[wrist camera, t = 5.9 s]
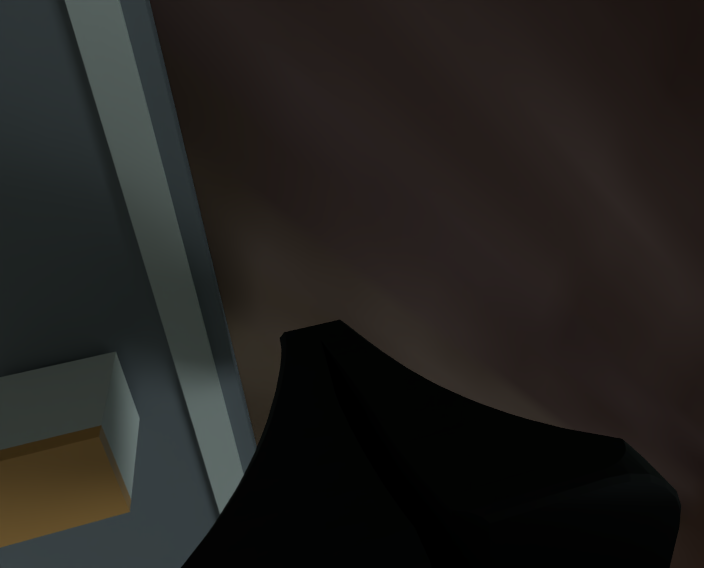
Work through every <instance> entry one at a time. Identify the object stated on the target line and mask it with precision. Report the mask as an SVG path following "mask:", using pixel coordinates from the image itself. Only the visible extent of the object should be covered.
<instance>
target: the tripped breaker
mask: <svg viewBox="0 0 704 568" xmlns="http://www.w3.org/2000/svg"><path fill="white" fill-rule="evenodd" d="M139 420H140V418H139V415H138V412H137V410H136V407H135V404H134V401H133V398H132V396H131V393H130V390H129V387H128V384H127V381H126V379H125V376H124V373H123V370H122V367H121V365H120V362H119V359H118V356H117V353H116V352H111V353H107V354H102V355H98V356H93V357H89V358H84V359H80V360H75V361H71V362H66V363H62V364H57V365H53V366H48V367H44V368H40V369H35V370H31V371H26V372H22V373H17V374H13V375H8V376H4V377H0V548H1V547H4V546H8V545H12V544H15V543H19V542H22V541H26V540H30V539H33V538H37V537H41V536H44V535H48V534H52V533H55V532H59V531H62V530H66V529H70V528H73V527H77V526H81V525H84V524H88V523H92V522H95V521H99V520H102V519H106V518H110V517H113V516H117V515H121V514H124V513H128V512H130V505H131V496H132V486H133V477H134V467H135V458H136V448H137V439H138V429H139Z"/></svg>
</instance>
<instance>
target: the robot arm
mask: <svg viewBox="0 0 704 568" xmlns="http://www.w3.org/2000/svg"><path fill="white" fill-rule="evenodd" d="M280 342H281V349H282V352H281V365H280V372H279V377H278V382H277V388H276V392H275V396H274V399H273V403H272V406H271V410H270V413H269V417H268V420H267V423H266V425H265V428H264V431H263V434H262V436H261V439H260V441H259V443H258V446H257V448H256V451H255V453H254V455H253V457H252V459H251V461H250V463H249V465H248V467H247V469H246V471H245V473H244V475H243V477H242V479H241V481H240V483H239V485H238V486H237V488H236V490H235V492H234V493H233V495H232V496H231V498H230V499H229V501H228V503H227V504H226V506H225V507H224V509H223V511H222V512H221V514H220V515H219V517H218V518H217V520H216V522H215V523H214V525H213V526H212V527H211V529H210V530H209V532H208V533H207V535H206V536H205V537H204V538H203V540H202V541H201V542H200V544H199V545H198V546H197V547H196V549H195V550H194V551H193V553H192V554H191V555H190V556H189V558H188V559H187V560H186V562H185V563H184V564H183V565H182V567H181V568H669V567H670V563H671V559H672V555H673V551H674V547H675V542H676V538H677V534H678V530H679V524H680V511H681V504H680V501H679V497H678V494H677V491H676V490H675V489H674V488H673V487H672V486H671V485H670V484H669V483H668V482H667V481H666V480H665V479H664V478H663V477H662V476H661V475H660V474H659V473H658V472H657V471H656V470H655V469H654V468H653V467H652V466H651V465H650V464H649V463H648V462H647V461H646V460H645V459H644V458H643V457H642V456H641V455H640V454H639V453H638V452H637V451H635V450H634V449H633V448H632V447H631V446H630V445H629V444H627V443H626V442H625V441H624V440H623V439H620V438H614V437H609V436H603V435H598V434H592V433H587V432H581V431H575V430H570V429H565V428H560V427H556V426H552V425H548V424H544V423H541V422H537V421H533V420H529V419H525V418H522V417H519V416H515V415H512V414H509V413H506V412H503V411H500V410H497V409H494V408H492V407H489V406H486V405H483V404H480V403H478V402H475V401H473V400H470V399H468V398H465V397H463V396H461V395H458V394H456V393H454V392H452V391H450V390H448V389H445V388H443V387H441V386H439V385H437V384H435V383H433V382H431V381H429V380H427V379H425V378H424V377H422V376H420V375H418V374H417V373H415V372H413V371H411V370H410V369H408V368H406V367H405V366H403V365H402V364H400V363H399V362H397V361H396V360H394V359H393V358H391V357H390V356H388V355H387V354H385V353H384V352H382V351H381V350H380V349H378V348H377V347H375V346H374V345H373V344H371V343H370V342H369V341H367V340H366V339H365V338H363V337H362V336H361V335H359V334H358V333H357V332H356V331H354V330H353V329H352V328H351V327H349V326H348V325H347V324H345V323H344V322H342V321H341V320H337V321H332V322H328V323H323V324H319V325H315V326H310V327H306V328H301V329H297V330H293V331H288V332H284V333H283V335H282V336H281V337H280Z"/></svg>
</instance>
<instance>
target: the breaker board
mask: <svg viewBox="0 0 704 568" xmlns="http://www.w3.org/2000/svg"><path fill="white" fill-rule="evenodd" d="M111 352H116V353H117V356H118V359H119V362H120V365H121V367H122V370H123V373H124V376H125V379H126V381H127V384H128V387H129V390H130V393H131V396H132V398H133V401H134V404H135V407H136V410H137V412H138V415H139V418H140V420H139V429H138V439H137V448H136V458H135V467H134V477H133V486H132V496H131V505H130V512H128V513H124V514H121V515H117V516H113V517H110V518H106V519H102V520H99V521H95V522H92V523H88V524H84V525H81V526H77V527H73V528H70V529H66V530H62V531H59V532H55V533H52V534H48V535H44V536H41V537H37V538H33V539H30V540H26V541H22V542H19V543H15V544H12V545H8V546H4V547H1V548H0V568H181V567H182V565H183V564H184V563H185V562H186V560H187V559H188V558H189V556H190V555H191V554H192V553H193V551H194V550H195V549H196V547H197V546H198V545H199V544H200V542H201V541H202V540H203V538H204V537H205V536H206V535H207V533H208V532H209V530H210V529H211V527H212V526H213V525H214V523H215V522H216V520H217V518H218V517H219V515H220V514H221V512H222V511H223V509H224V507H225V506H226V504H227V503H228V501H229V499H230V498H231V496H232V495H233V493H234V492H235V490H236V488H237V486H238V485H239V483H240V481H241V479H242V477H243V475H244V473H245V471H246V469H247V467H248V465H249V463H250V461H251V459H252V457H253V455H254V453H255V451H256V448H257V447H256V442H255V438H254V434H253V430H252V426H251V422H250V417H249V413H248V409H247V405H246V401H245V397H244V392H243V388H242V384H241V380H240V376H239V372H238V367H237V363H236V359H235V355H234V351H233V347H232V342H231V338H230V334H229V330H228V326H227V322H226V317H225V313H224V309H223V305H222V301H221V297H220V293H219V288H218V284H217V280H216V276H215V272H214V268H213V263H212V259H211V255H210V251H209V247H208V243H207V238H206V234H205V230H204V226H203V222H202V218H201V213H200V209H199V205H198V201H197V197H196V193H195V188H194V184H193V180H192V176H191V172H190V168H189V163H188V159H187V155H186V151H185V147H184V143H183V138H182V134H181V130H180V126H179V122H178V118H177V114H176V109H175V105H174V101H173V97H172V93H171V89H170V84H169V80H168V76H167V72H166V68H165V64H164V59H163V55H162V51H161V47H160V43H159V39H158V34H157V30H156V26H155V22H154V18H153V14H152V9H151V5H150V1H149V0H0V377H4V376H8V375H13V374H17V373H22V372H26V371H31V370H35V369H40V368H44V367H48V366H53V365H57V364H62V363H66V362H71V361H75V360H80V359H84V358H89V357H93V356H98V355H102V354H107V353H111Z"/></svg>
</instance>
